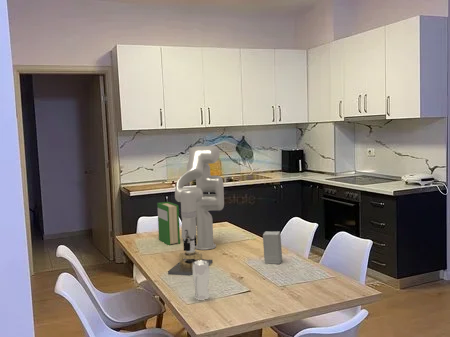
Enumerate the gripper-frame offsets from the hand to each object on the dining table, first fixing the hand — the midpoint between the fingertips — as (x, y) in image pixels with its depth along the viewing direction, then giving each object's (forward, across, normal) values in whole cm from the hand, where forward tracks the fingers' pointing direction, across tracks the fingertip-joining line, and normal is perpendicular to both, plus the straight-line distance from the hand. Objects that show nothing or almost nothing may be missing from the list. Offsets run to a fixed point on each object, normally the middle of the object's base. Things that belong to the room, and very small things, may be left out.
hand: (190, 248), depth 227 cm
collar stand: (+10, 0, 0) cm, 10 cm away
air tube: (+9, 0, 0) cm, 9 cm away
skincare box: (+10, -16, +39) cm, 43 cm away
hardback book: (+11, -50, -32) cm, 60 cm away
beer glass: (+10, +38, +18) cm, 43 cm away
